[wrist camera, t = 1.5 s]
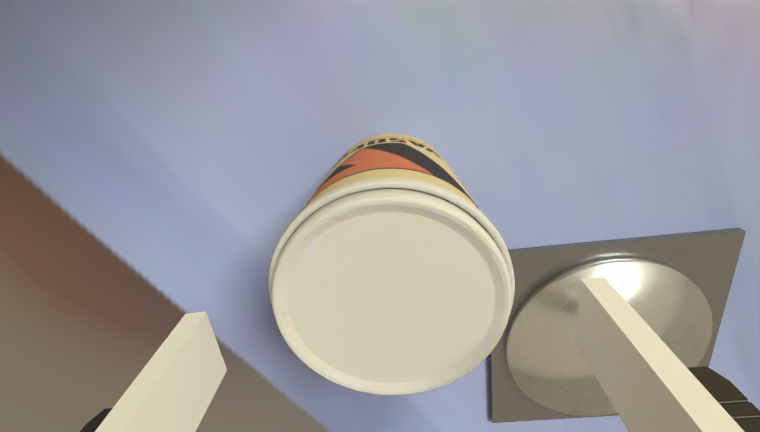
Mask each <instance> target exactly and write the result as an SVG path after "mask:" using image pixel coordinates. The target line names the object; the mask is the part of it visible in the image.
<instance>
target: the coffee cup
mask: <svg viewBox="0 0 760 432" xmlns="http://www.w3.org/2000/svg"><path fill="white" fill-rule="evenodd" d="M514 293H515V279H514V271H513V266H512V262H511V258H510V255H509V252H508V250H507V247H506V245H505V243H504V241H503V239H502V237H501V236H500V234H499V232H498V231H497V230H496V228H495V227H494V226H493V224H492V223H491V222H490V221H489V219H488V218H487V217H486V216H485V215H484V214H483V213H482V212H481V211H480V210H479V209H478V207H477V205H476V204H475V203H474V201H473V200H472V198H471V197H470V195H469V194H468V193H467V191H466V190H465V188H464V187H463V185H462V184H461V183H460V181H459V180H458V178H457V177H456V176H455V174H454V173H453V171H452V170H451V169H450V167H449V166H448V165H447V163H446V162H445V160H444V159H443V158H442V157H441V156H440V155H439V154H438V152H437V151H435V150H434V149H433V148H432V147H431V146H429V145H428V144H427V143H425V142H423V141H422V140H420V139H418V138H415V137H412V136H409V135H405V134H397V133H388V134H380V135H376V136H372V137H369V138H367V139H364V140H362V141H361V142H359V143H357V144H356V145H354V146H353V147H352V148H351V149H349V150H348V151H347V152H346V153H345V154H344V156H343V157H342V158H341V159H340V160H339V162H338V163H337V164H336V165H335V167H334V168H333V169H332V171H331V172H330V173H329V175H328V176H327V178H326V179H325V180H324V182H323V183H322V184H321V186H320V187H319V188H318V190H317V191H316V193H315V194H314V195H313V197H312V198H311V200H310V201H309V202H308V204H307V205H306V207H305V208H304V209H303V210H302V211H301V212H300V213H299V214H298V215H297V216H296V217H295V219H294V220H293V221H292V222H291V223H290V224H289V226H288V227H287V229H286V230H285V231H284V233H283V234H282V236H281V238H280V240H279V242H278V244H277V246H276V249H275V251H274V254H273V257H272V261H271V265H270V271H269V295H270V301H271V305H272V309H273V312H274V316H275V320H276V323H277V325H278V328H279V330H280V332H281V334H282V336H283V338H284V339H285V341H286V343H287V344H288V346H289V347H290V348H291V350H292V351H293V352H294V353H295V354H296V355H297V356H298V357H299V358H300V359H301V360H302V361H303V362H304V363H305V364H306V365H307V366H308V367H309V368H311V369H312V370H314V371H315V372H317V373H318V374H320V375H321V376H323V377H324V378H326V379H328V380H330V381H332V382H334V383H337V384H339V385H341V386H344V387H346V388H350V389H353V390H357V391H361V392H365V393H371V394H381V395H405V394H415V393H420V392H424V391H429V390H432V389H436V388H439V387H441V386H444V385H446V384H449V383H451V382H453V381H455V380H458V379H459V378H461V377H462V376H464V375H465V374H467V373H468V372H470V371H471V370H473V369H474V368H476V367H477V366H478V365H479V364H480V363H481V362H482V361H483V360H484V359H485V358H486V357H487V356H488V355H489V354H490V353H491V352H492V350H493V349H494V348H495V346H496V345H497V343H498V342H499V340H500V338H501V336H502V335H503V332H504V330H505V328H506V325H507V323H508V319H509V316H510V313H511V309H512V305H513V300H514Z"/></svg>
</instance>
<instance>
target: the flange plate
mask: <svg viewBox="0 0 760 432" xmlns="http://www.w3.org/2000/svg"><path fill="white" fill-rule="evenodd" d="M745 232H746V231H744V230H742V229H740V228H734V229H723V230H713V231H702V232H691V233H681V234H670V235H660V236H649V237H638V238H628V239H617V240H606V241H596V242H585V243H575V244H564V245H553V246H543V247H532V248H521V249H511V250H508V252H509V255H510V258H511V262H512V266H513V271H514V279H515V293H514V300H513V305H512V309H511V313H510V316H509V319H508V323H507V325H506V328H505V330H504V332H503V335H502V336H501V338H500V340H499V342H498V343H497V345H496V346H495V348H494V349H493V350H492V352H491V353H490V376H491V418H492V422H493V423H499V422H516V421H532V420H549V419H565V418H582V417H598V416H615V415H618V413H617V411H616V410H615V408H614V406H613V405H612V403H611V402H610V400H609V398H608V397H607V395H606V393H605V392H604V390H603V388H602V387H601V385H600V383H599V382H598V380H597V378H596V377H595V375H594V373H593V372H592V370H591V369H590V367H589V365H588V364H587V362H586V360H585V359H584V357H583V355H582V354H581V352H580V350H579V349H578V347H577V345H576V332H577V320H578V308H579V296H580V284H581V279H587V278H598V277H605V278H606V279H607V280H608V281H609V282H610V283H611V285H612V286H613V287H614V288H615V289H616V290H617V291H618V292H619V293H620V294H621V296H622V297H623V298H624V299H625V300H626V301H627V302H628V303H629V304H630V306H631V307H632V308H633V309H634V310H635V311H636V312H637V313H638V314H639V316H640V317H641V318H642V319H643V320H644V321H645V322H646V323H647V324H648V325H649V327H650V328H651V329H652V330H653V331H654V332H655V333H656V334H657V335H658V337H659V338H660V339H661V340H662V341H663V342H664V343H665V344H666V345H667V346H668V348H669V349H670V350H671V351H672V352H673V353H674V354H675V355H676V356H677V358H678V359H679V360H680V361H681V362H682V363H683V364H684V365H685V366H686V367H702V366H707V367H709V363H710V360H711V356H712V352H713V349H714V345H715V341H716V338H717V334H718V330H719V327H720V323H721V319H722V316H723V312H724V308H725V305H726V301H727V298H728V294H729V290H730V287H731V283H732V279H733V276H734V272H735V268H736V265H737V261H738V257H739V254H740V250H741V246H742V243H743V239H744V235H745Z"/></svg>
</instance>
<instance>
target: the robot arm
mask: <svg viewBox="0 0 760 432" xmlns="http://www.w3.org/2000/svg"><path fill="white" fill-rule="evenodd" d="M576 345H577V347H578V349H579V350H580V352H581V354H582V355H583V357H584V359H585V360H586V362H587V364H588V365H589V367H590V369H591V370H592V372H593V373H594V375H595V377H596V378H597V380H598V382H599V383H600V385H601V387H602V388H603V390H604V392H605V393H606V395H607V397H608V398H609V400H610V402H611V403H612V405H613V406H614V408H615V410H616V411H617V413H618V415H619V416H620V418H621V420H622V421H623V423H624V425H625V426H626V428H627V430H628V431H629V432H760V411H759V410H758V409H757V408H756V407H755V406H754V405H753V404H752V403H749V402H748V399H747V398H746V397H745V396H744V395H743V394H742V393H741V392H740V391H739V390H738V389H737V388H736V387H735V386H734V385H733V384H732V383H731V382H730V381H729V380H727V379H726V378H724V377H723V376H721V375H719V374H718V373H716V372H715V371H713V370H711V369H710V368H708V367H707V366H702V367H686V366H685V365H684V364H683V363H682V362H681V361H680V360H679V359H678V358H677V356H676V355H675V354H674V353H673V352H672V351H671V350H670V349H669V348H668V346H667V345H666V344H665V343H664V342H663V341H662V340H661V339H660V338H659V337H658V335H657V334H656V333H655V332H654V331H653V330H652V329H651V328H650V327H649V325H648V324H647V323H646V322H645V321H644V320H643V319H642V318H641V317H640V316H639V314H638V313H637V312H636V311H635V310H634V309H633V308H632V307H631V306H630V304H629V303H628V302H627V301H626V300H625V299H624V298H623V297H622V296H621V294H620V293H619V292H618V291H617V290H616V289H615V288H614V287H613V286H612V285H611V283H610V282H609V281H608V280H607V279H606V278H605V277H598V278H587V279H581V284H580V296H579V308H578V320H577V332H576ZM226 371H227V369H226V366H225V363H224V361H223V357H222V355H221V352H220V349H219V346H218V344H217V341H216V338H215V335H214V333H213V330H212V327H211V324H210V321H209V319H208V316H207V313H206V312H198V313H187V314H185V315H184V317H183V318H182V319H181V321H180V322H179V323H178V324H177V326H176V327H175V328H174V330H173V331H172V332H171V334H170V335H169V336H168V337H167V339H166V340H165V341H164V342H163V344H162V345H161V346H160V348H159V349H158V350H157V352H156V353H155V354H154V356H153V357H152V358H151V360H150V361H149V362H148V363H147V365H146V366H145V367H144V368H143V370H142V371H141V372H140V374H139V375H138V376H137V378H136V379H135V380H134V381H133V383H132V384H131V385H130V387H129V388H128V389H127V391H126V392H125V393H124V394H123V396H122V397H121V398H120V400H119V401H118V402H117V403H116V405H115V406H114V407H113V408H111V409H104V410H103V411H102V412H100V413H99V414H98V415H97V416H96V417H94V418H93V419H92V420H91V421H90V422H88V423H87V424H86V425H85V426H84V427H83V429H82V430H81V431H80V432H196V430H197V428H198V426H199V424H200V422H201V420H202V418H203V416H204V414H205V412H206V410H207V408H208V406H209V404H210V402H211V400H212V398H213V396H214V394H215V392H216V390H217V389H218V387H219V385H220V383H221V381H222V379H223V377H224V375H225V373H226Z"/></svg>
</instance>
